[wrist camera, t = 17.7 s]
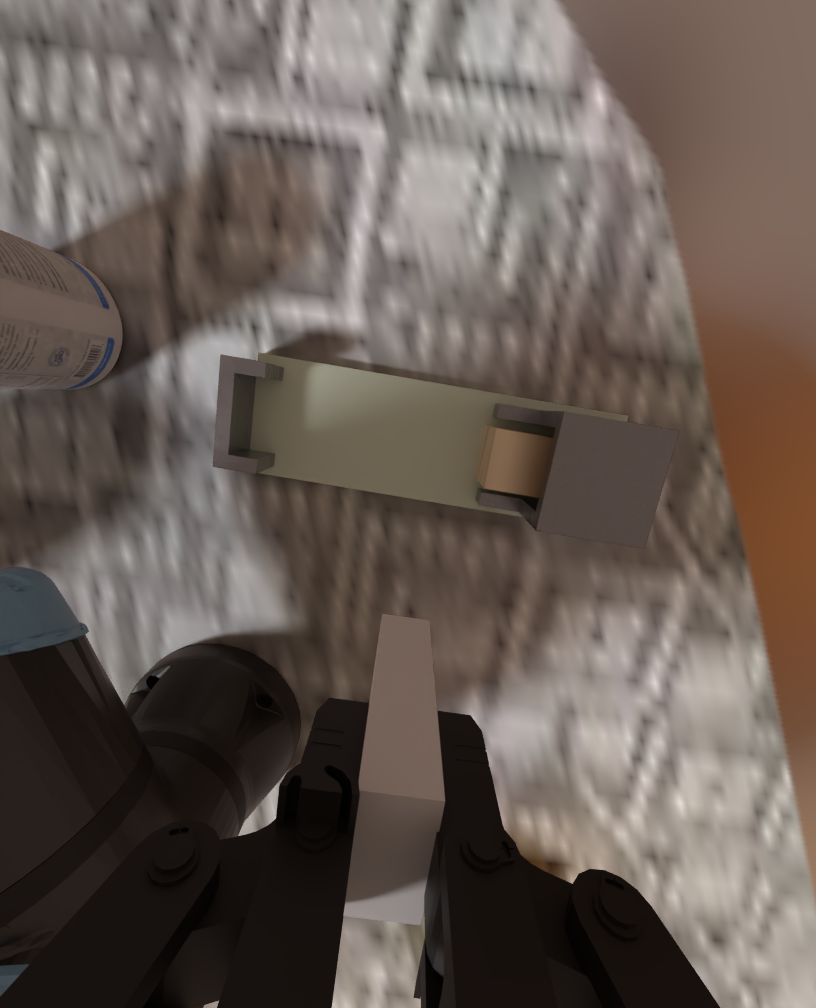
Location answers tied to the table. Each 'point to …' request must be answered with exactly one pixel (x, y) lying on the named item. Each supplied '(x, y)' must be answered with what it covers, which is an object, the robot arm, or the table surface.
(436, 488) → the board
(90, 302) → the supplement tub
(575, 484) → the cap
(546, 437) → the brown block
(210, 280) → the table surface
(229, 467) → the cap
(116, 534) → the table surface
